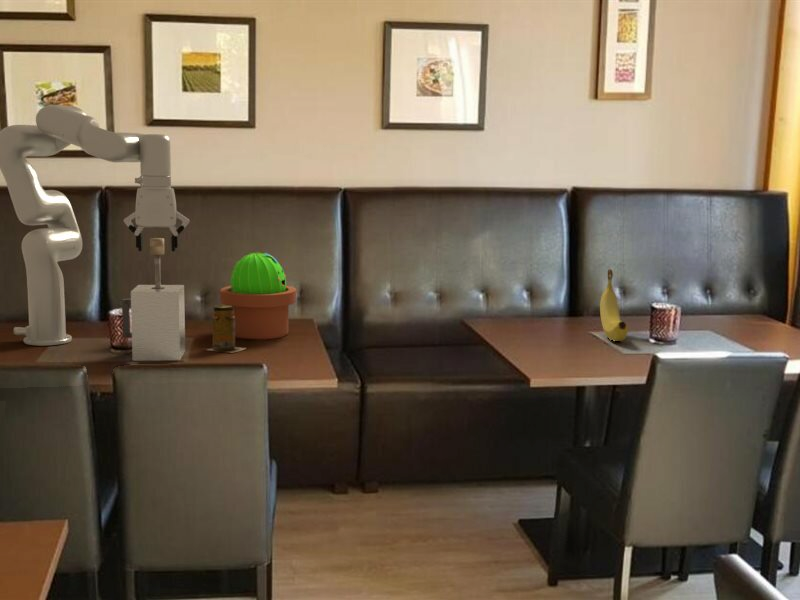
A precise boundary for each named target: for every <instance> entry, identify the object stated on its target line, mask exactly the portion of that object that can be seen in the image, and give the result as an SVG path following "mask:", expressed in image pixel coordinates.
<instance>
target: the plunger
mask: <svg viewBox="0 0 800 600" xmlns="http://www.w3.org/2000/svg"><path fill="white" fill-rule="evenodd" d="M149 251H150V252H149V254H150V255H153V256H154V278H155V279H154V280H155V281H154V282H155V283H154V285H155V289H161V285H162V282H161V280H162V279H161V272H162V271H161V255H165V238H163V237H153V238H152V237H151V238H149Z"/></svg>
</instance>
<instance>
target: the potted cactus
mask: <svg viewBox="0 0 800 600" xmlns="http://www.w3.org/2000/svg"><path fill="white" fill-rule="evenodd" d="M228 278H230V285H227V286H224V287H222V288H221V289H220V290H219V291H220V292H219V294H220V295H219V296H220V300H219V301H220V303H221V305H229V306H233V308H234V309H233V311H234V316H235V339H243V340H252V341H253V340H257V341H258V340H274V339H280V338H283V337H285V336H287V335H288V333H289V306H291V305H293V304H295V303H297V288H296V287H294V286H290V285H287V276H286V274H285V271H284V269H283V266H281V263H280V262H279V261H278V259H276V258H275V257H274V256H273V255H271V254H269V253H267V252H264V253H263V252H262V253H261V252H260V251H259V250H258V252H252V253H249V254H246V255H244V256H243V257H242V258H241V259H240V260H239V261H236V263H235V265H234V266H233V269H232V271H231V276H230V277H228Z"/></svg>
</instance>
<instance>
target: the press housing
mask: <svg viewBox="0 0 800 600" xmlns="http://www.w3.org/2000/svg"><path fill="white" fill-rule="evenodd" d="M130 308H131V309H130ZM130 311H131V312H130ZM121 314H122V322H121V323H122V338H126V339H131V347H132V349H131V351H132V352H131V356H132V358H131V359H132V361H133V362H134V361H135V362H137V361H139V362H141V361H144V362H145V361H147V362H149V361H181V359H182V357H183V356H184V353H186V329H185V328H186V327H185V326H186V325H185V324H186V323H185V322H186V320H185V319H186V317H185V285H184V284H161V289H155V284H138V285H136V286H135V287H134V288H133V289H132V290H131V291H130V298H122V299H121ZM130 314H131V316H130ZM130 318H131V320H130ZM130 323H131V324H130Z"/></svg>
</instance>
